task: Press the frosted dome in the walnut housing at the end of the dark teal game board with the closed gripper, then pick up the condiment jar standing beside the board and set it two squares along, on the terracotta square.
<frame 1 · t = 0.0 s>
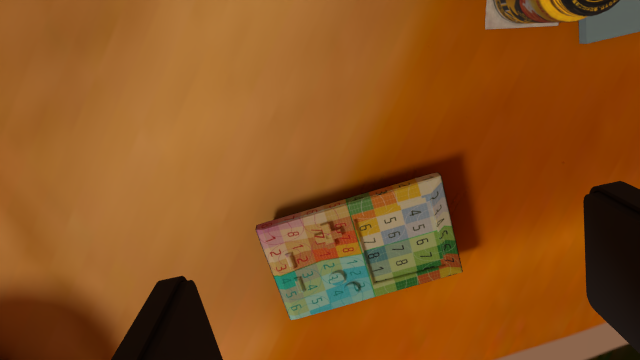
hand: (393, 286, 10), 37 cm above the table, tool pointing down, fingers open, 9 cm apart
puzzle game: (357, 235, 51), on the table
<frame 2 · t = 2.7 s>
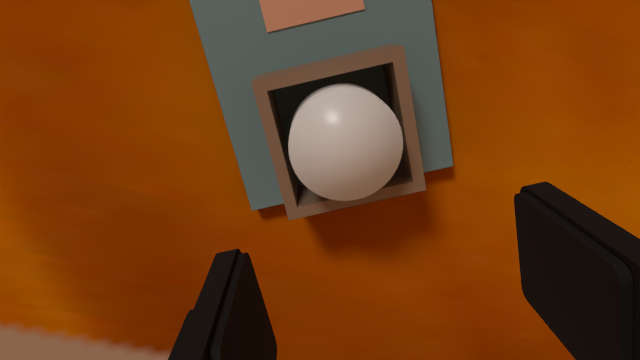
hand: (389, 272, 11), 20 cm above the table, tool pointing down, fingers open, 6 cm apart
board: (311, 4, 27), on the table
dome: (343, 140, 24), point 5 cm above the table, slide at -0.1 cm
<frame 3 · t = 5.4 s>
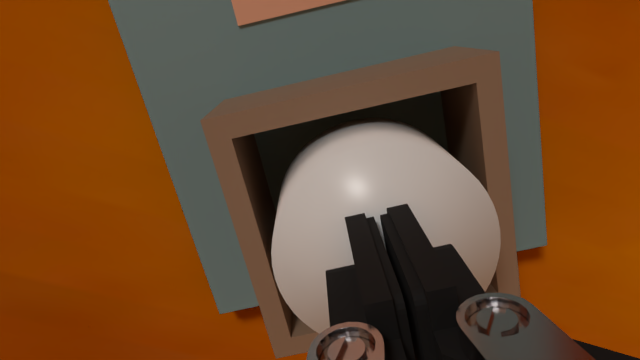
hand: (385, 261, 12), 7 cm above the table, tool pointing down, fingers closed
dome: (377, 228, 13), point 5 cm above the table, slide at -0.2 cm, touching gripper
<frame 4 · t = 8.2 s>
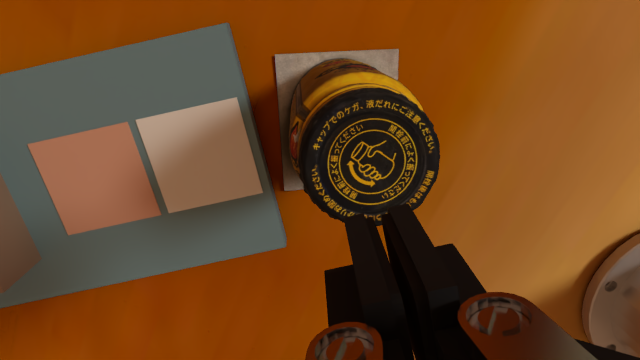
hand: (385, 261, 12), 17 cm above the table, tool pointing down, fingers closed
board: (74, 180, 28), on the table
condiment: (338, 121, 28), on the table
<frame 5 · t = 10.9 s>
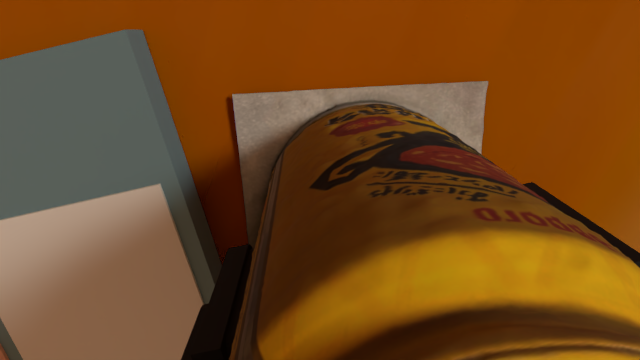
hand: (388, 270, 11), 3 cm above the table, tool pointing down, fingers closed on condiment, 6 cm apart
condiment: (361, 218, 14), on the table, touching gripper
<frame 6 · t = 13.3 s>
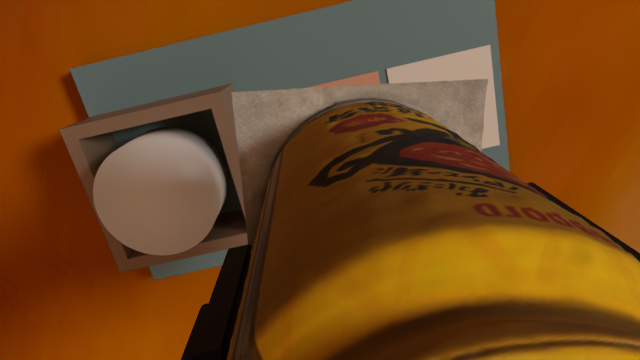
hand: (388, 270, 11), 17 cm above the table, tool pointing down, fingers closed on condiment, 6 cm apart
board: (305, 135, 28), on the table
dome: (165, 189, 23), point 5 cm above the table, slide at -0.4 cm
condiment: (361, 216, 14), point 14 cm above the table, touching gripper
when the fingers open (6 cm above the table, at t = 15.7 s): condiment drops 2 cm, resting on board.
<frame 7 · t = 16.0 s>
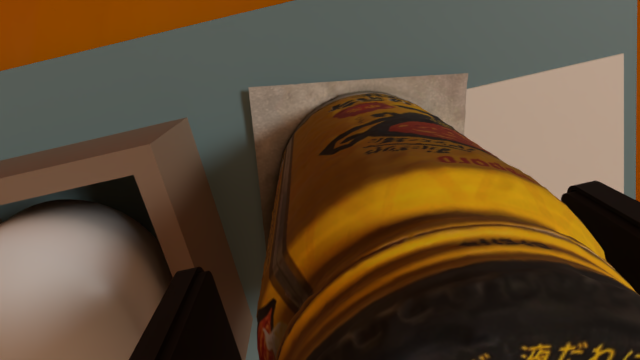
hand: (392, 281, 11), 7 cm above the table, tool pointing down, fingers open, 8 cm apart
board: (308, 195, 17), on the table
dome: (57, 315, 13), point 5 cm above the table, slide at -0.4 cm
condiment: (360, 195, 16), point 1 cm above the table, touching board
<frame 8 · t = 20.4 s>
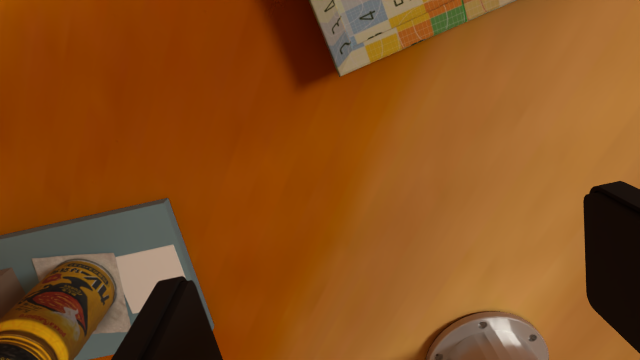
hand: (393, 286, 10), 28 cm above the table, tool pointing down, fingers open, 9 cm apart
board: (71, 291, 42), on the table
condiment: (85, 293, 41), point 1 cm above the table, touching board
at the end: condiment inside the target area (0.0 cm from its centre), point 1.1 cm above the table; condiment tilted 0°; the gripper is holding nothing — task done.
